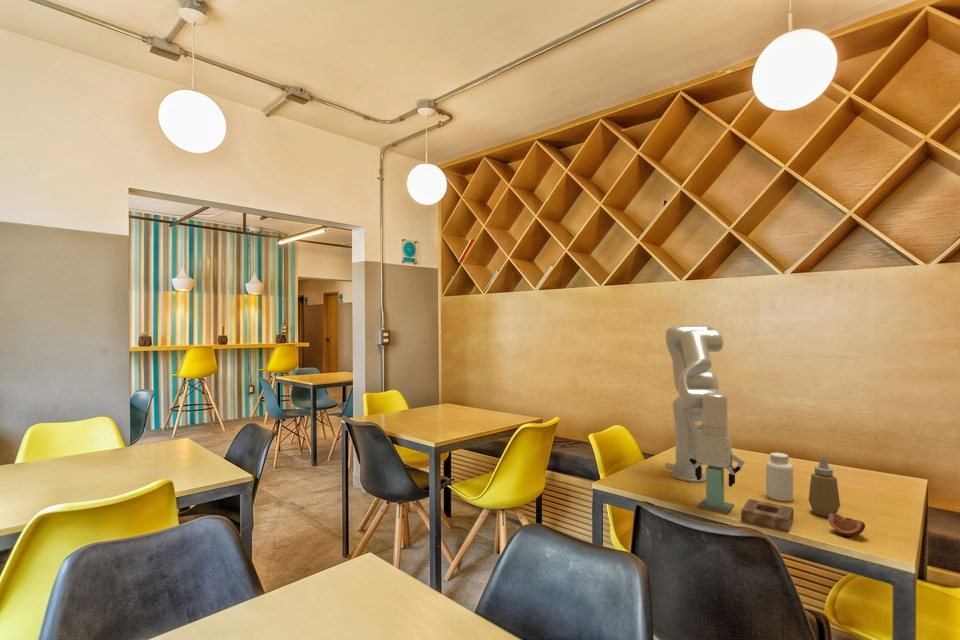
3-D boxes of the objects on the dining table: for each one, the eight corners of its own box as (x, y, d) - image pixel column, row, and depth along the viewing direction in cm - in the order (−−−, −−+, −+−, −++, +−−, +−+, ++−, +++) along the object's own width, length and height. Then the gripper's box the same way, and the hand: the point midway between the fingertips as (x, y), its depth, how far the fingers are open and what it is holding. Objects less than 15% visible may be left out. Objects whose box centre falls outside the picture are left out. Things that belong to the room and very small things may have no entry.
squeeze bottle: (841, 521, 144) (840, 461, 144) (809, 515, 148) (808, 457, 148) (838, 512, 150) (837, 455, 151) (808, 507, 155) (807, 452, 155)
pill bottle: (784, 503, 158) (784, 458, 158) (761, 496, 165) (760, 453, 166) (798, 499, 162) (797, 455, 162) (774, 492, 169) (774, 450, 169)
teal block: (706, 505, 155) (706, 468, 156) (709, 501, 159) (709, 465, 159) (721, 508, 152) (720, 470, 153) (724, 504, 156) (723, 467, 156)
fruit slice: (824, 531, 137) (823, 513, 137) (836, 526, 140) (835, 509, 140) (858, 542, 129) (857, 524, 129) (870, 537, 132) (869, 519, 133)
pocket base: (741, 521, 144) (741, 509, 144) (749, 509, 153) (749, 498, 153) (788, 532, 136) (788, 519, 136) (793, 519, 145) (793, 507, 145)
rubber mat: (697, 507, 155) (697, 505, 155) (704, 499, 162) (704, 498, 162) (727, 514, 149) (727, 512, 149) (734, 506, 156) (734, 504, 156)
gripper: (683, 428, 159) (683, 479, 159) (741, 437, 148) (741, 491, 148) (690, 424, 165) (690, 474, 165) (746, 432, 154) (746, 485, 154)
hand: (714, 482), depth 156 cm, fingers open, 9 cm apart
